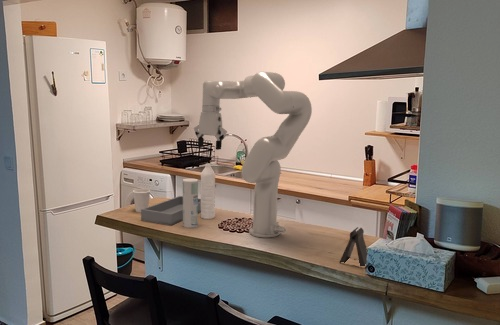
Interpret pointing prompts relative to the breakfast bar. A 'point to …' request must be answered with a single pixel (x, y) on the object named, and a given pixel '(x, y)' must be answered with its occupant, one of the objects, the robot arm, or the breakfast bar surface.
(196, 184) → the spray can
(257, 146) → the robot arm
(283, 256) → the breakfast bar surface
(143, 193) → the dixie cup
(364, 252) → the phone stand
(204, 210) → the water bottle
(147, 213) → the tray
